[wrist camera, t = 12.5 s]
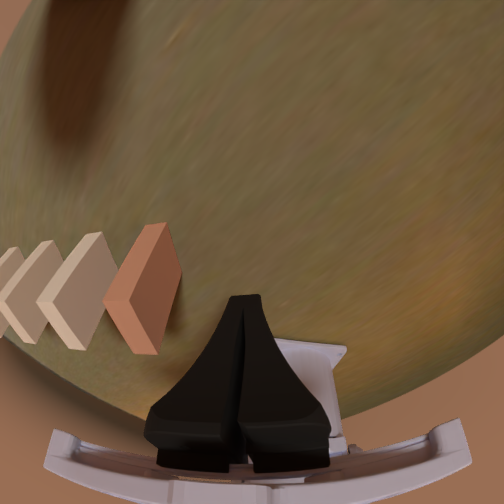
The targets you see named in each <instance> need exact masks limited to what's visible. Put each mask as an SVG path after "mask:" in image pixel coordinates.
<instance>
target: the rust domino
mask: <svg viewBox="0 0 504 504" xmlns="http://www.w3.org/2000/svg"><path fill="white" fill-rule="evenodd" d="M181 274H182V271H181V268H180V264H179V261H178V258H177V255H176V252H175V248H174V245H173V242H172V238H171V235H170V232H169V228H168V225H167V222H165V223H157V224H150V225H145V227H144V228H143V230H142V232H141V233H140V235H139V236H138V238H137V240H136V241H135V243H134V245H133V246H132V248H131V250H130V252H129V253H128V255H127V257H126V258H125V260H124V262H123V264H122V265H121V267H120V269H119V271H118V272H117V274H116V276H115V278H114V280H113V281H112V283H111V285H110V287H109V289H108V291H107V293H106V295H105V296H104V298H103V300H102V302H103V304H104V306H105V307H106V309H107V311H108V313H109V314H110V316H111V318H112V319H113V321H114V323H115V324H116V326H117V328H118V329H119V331H120V333H121V334H122V336H123V337H124V339H125V341H126V342H127V344H128V345H129V347H130V348H131V350H132V351H133V353H134V354H154V355H158V354H159V350H160V346H161V343H162V339H163V335H164V332H165V328H166V325H167V321H168V318H169V314H170V311H171V307H172V304H173V300H174V297H175V294H176V290H177V287H178V284H179V281H180V277H181Z"/></svg>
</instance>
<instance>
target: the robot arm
mask: <svg viewBox="0 0 504 504" xmlns="http://www.w3.org/2000/svg"><path fill="white" fill-rule="evenodd" d="M346 352H347V348H346V346H343V345H332V344H321V343H311V342H302V341H294V340H286V339H278V338H274V337H273V335H272V333H271V331H270V328H269V326H268V323H267V321H266V318H265V315H264V312H263V309H262V302H261V296H260V295H259V294H252V295H239V296H231V297H230V298H229V301H228V304H227V306H226V309H225V311H224V313H223V316H222V318H221V320H220V322H219V324H218V326H217V328H216V330H215V332H214V334H213V335H212V337H211V339H210V340H209V342H208V344H207V346H206V347H205V349H204V350H203V352H202V353H201V355H200V356H199V357H198V359H197V360H196V362H195V363H194V364H193V365H192V367H191V368H190V369H189V370H188V372H187V373H186V374H185V375H184V376H183V377H182V379H181V380H180V381H179V382H178V383H177V384H176V385H175V386H174V387H173V388H172V389H171V390H170V391H169V392H168V393H167V394H166V395H164V396H163V397H162V398H161V399H160V400H159V401H157V402H156V403H155V404H154V405H153V406H151V408H150V411H149V414H148V416H147V420H146V424H145V429H144V437H145V438H146V439H147V440H148V441H149V442H150V443H152V444H153V445H154V446H156V447H157V448H158V455H157V458H155V457H150V456H144V455H138V454H133V453H128V452H123V451H119V450H114V449H110V448H106V447H102V446H98V445H95V444H91V443H88V442H84V441H81V440H80V439H79V438H77V437H76V436H74V435H72V434H70V433H67V432H64V431H61V430H58V429H56V428H55V429H54V431H53V434H52V437H51V441H50V444H49V447H48V451H47V454H46V458H45V462H44V468H45V469H47V470H49V471H51V472H53V473H55V474H57V475H59V476H61V477H64V478H66V479H68V480H70V481H72V482H75V483H77V484H80V485H83V486H85V487H88V488H91V489H93V490H96V491H99V492H102V493H105V494H108V495H112V496H115V497H118V498H122V499H125V500H129V501H132V502H136V503H140V504H370V503H371V502H375V501H379V500H383V499H386V498H390V497H393V496H396V495H399V494H402V493H405V492H408V491H411V490H414V489H417V488H420V487H422V486H425V485H428V484H430V483H432V482H435V481H437V480H440V479H442V478H445V477H447V476H449V475H451V474H453V473H455V472H457V471H459V470H461V469H463V468H464V467H466V466H468V465H470V464H471V463H472V459H471V455H470V451H469V448H468V444H467V441H466V438H465V434H464V431H463V427H462V424H461V421H460V418H456V419H453V420H451V421H448V422H446V423H443V424H440V425H438V426H436V427H434V428H433V429H432V430H431V431H430V432H429V433H428V434H425V435H422V436H419V437H416V438H412V439H409V440H406V441H403V442H399V443H396V444H392V445H388V446H384V447H381V448H377V449H372V450H368V451H363V450H362V449H361V448H359V447H357V446H356V444H351V445H348V453H349V454H348V453H347V447H346V439H345V437H344V436H343V431H342V425H341V418H340V412H339V406H338V401H337V395H336V389H335V384H334V378H333V373H332V369H333V368H334V367H335V366H336V364H337V363H338V362H339V361H340V359H341V358H342V357H343V356H344V354H345V353H346ZM172 475H176V476H184V477H194V478H205V479H220V480H221V479H222V480H231V483H229V482H209V481H197V480H187V479H179V478H178V477H176V476H172Z"/></svg>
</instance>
